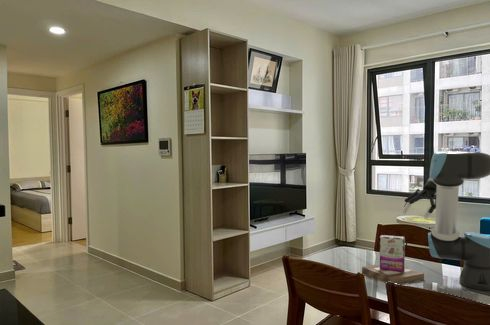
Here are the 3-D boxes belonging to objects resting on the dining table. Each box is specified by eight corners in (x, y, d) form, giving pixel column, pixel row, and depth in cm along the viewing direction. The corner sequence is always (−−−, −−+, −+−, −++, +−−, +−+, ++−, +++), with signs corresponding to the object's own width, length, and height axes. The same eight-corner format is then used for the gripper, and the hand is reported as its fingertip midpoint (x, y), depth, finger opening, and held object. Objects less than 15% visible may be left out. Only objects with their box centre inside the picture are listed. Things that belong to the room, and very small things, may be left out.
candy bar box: (404, 269, 179) (405, 236, 178) (404, 272, 174) (404, 238, 174) (380, 266, 184) (381, 234, 184) (379, 269, 180) (379, 236, 179)
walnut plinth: (424, 279, 174) (424, 273, 174) (392, 285, 166) (392, 278, 166) (391, 267, 192) (391, 261, 192) (362, 272, 184) (362, 266, 184)
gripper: (459, 192, 186) (438, 224, 181) (417, 187, 209) (398, 215, 203) (452, 182, 184) (431, 214, 178) (411, 178, 206) (391, 206, 201)
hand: (413, 215), depth 191 cm, fingers open, 13 cm apart
